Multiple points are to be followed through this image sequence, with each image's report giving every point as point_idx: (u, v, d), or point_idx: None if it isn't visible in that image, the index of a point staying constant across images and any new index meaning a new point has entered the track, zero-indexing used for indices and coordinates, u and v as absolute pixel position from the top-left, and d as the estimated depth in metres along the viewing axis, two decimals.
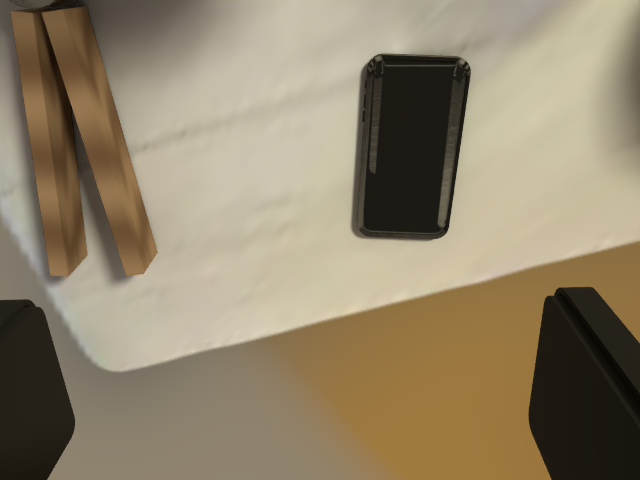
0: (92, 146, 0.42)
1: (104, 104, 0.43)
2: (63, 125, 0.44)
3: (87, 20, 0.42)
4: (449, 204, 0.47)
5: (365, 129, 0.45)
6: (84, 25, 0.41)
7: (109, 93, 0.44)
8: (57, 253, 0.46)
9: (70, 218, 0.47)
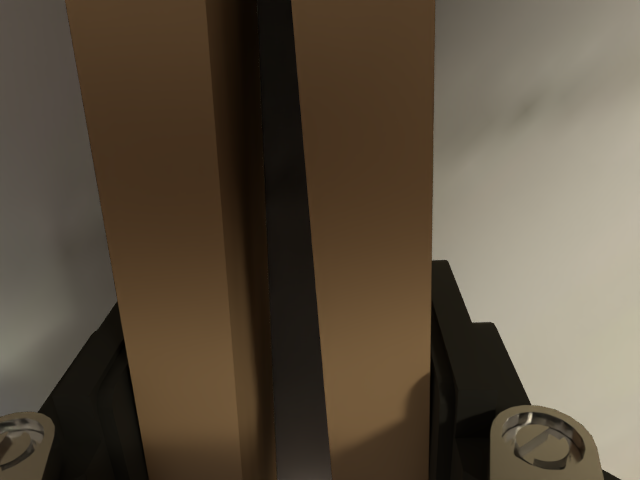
0: (353, 93, 0.06)
1: None
2: None
3: None
4: None
5: None
6: None
7: None
8: None
9: (257, 428, 0.11)
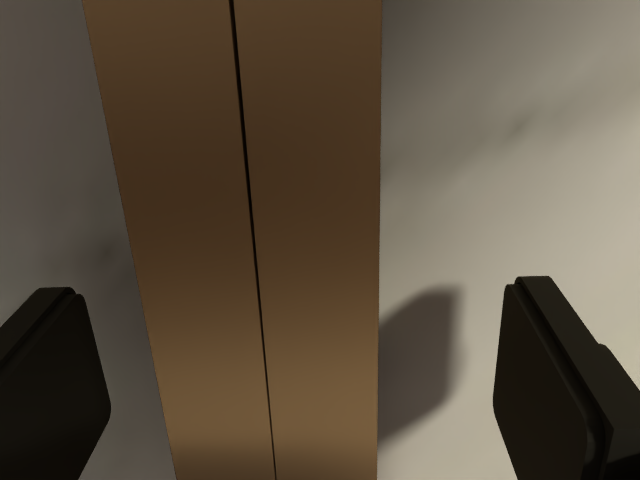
0: (299, 124, 0.06)
1: None
2: None
3: None
4: None
5: None
6: None
7: None
8: None
9: None
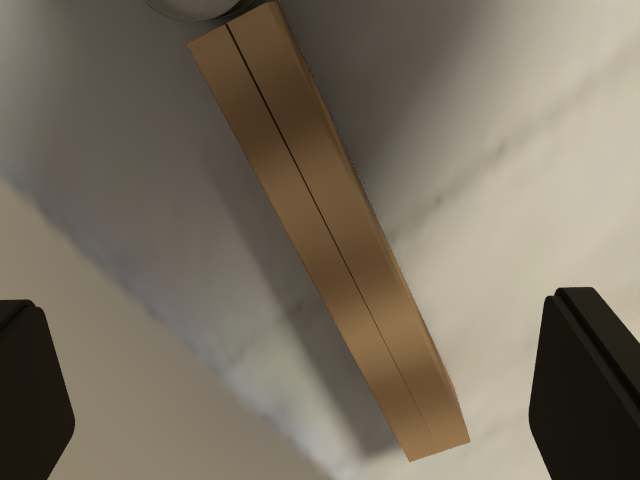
0: (356, 249, 0.22)
1: (349, 167, 0.23)
2: None
3: (287, 25, 0.22)
4: None
5: None
6: (289, 33, 0.22)
7: (343, 146, 0.24)
8: (410, 423, 0.26)
9: None
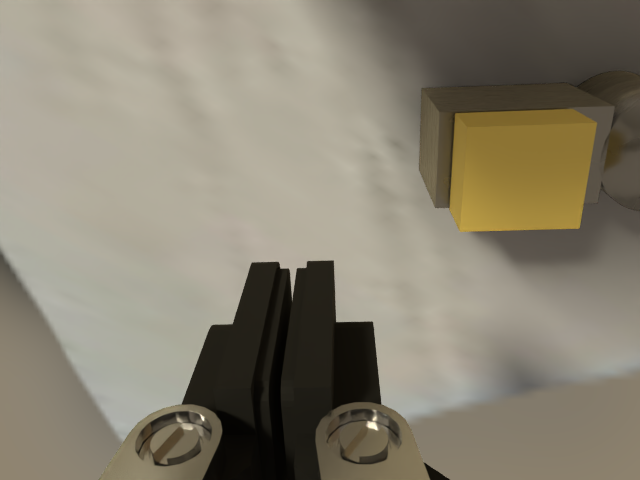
0: None
1: None
2: None
3: None
4: None
5: None
6: None
7: None
8: None
9: None
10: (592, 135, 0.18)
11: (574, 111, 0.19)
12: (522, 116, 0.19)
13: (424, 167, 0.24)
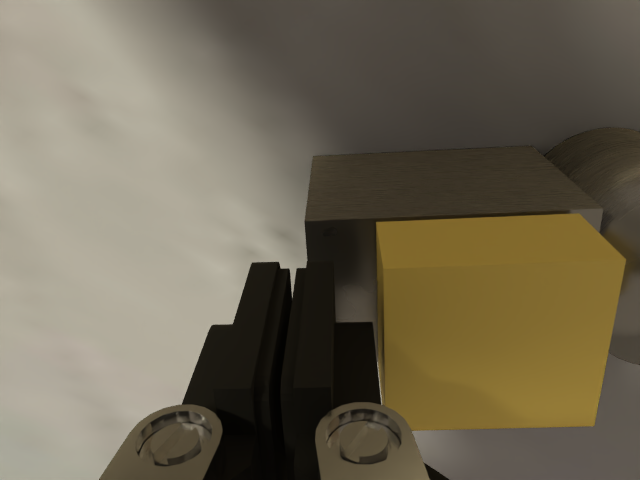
0: None
1: None
2: None
3: None
4: None
5: None
6: None
7: None
8: None
9: None
10: (617, 281, 0.09)
11: (582, 221, 0.11)
12: (489, 234, 0.10)
13: None
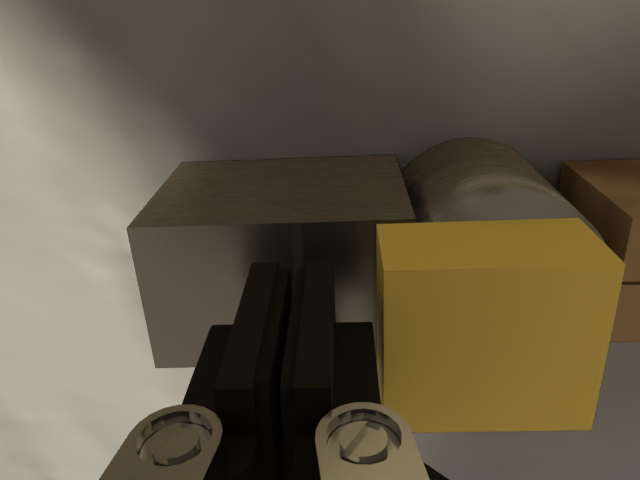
0: None
1: None
2: None
3: (608, 165, 0.15)
4: None
5: None
6: (632, 175, 0.14)
7: None
8: None
9: None
10: (616, 285, 0.10)
11: (581, 225, 0.11)
12: (489, 238, 0.11)
13: None
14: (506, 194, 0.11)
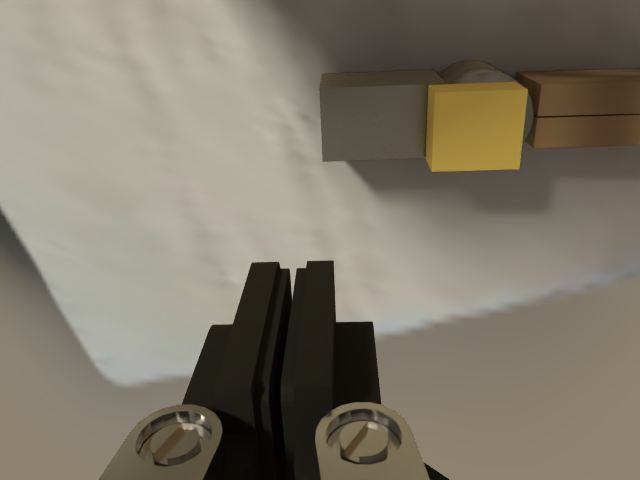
0: None
1: None
2: None
3: (538, 72, 0.30)
4: None
5: None
6: (548, 75, 0.29)
7: None
8: None
9: None
10: (525, 98, 0.25)
11: (515, 83, 0.26)
12: (476, 86, 0.26)
13: None
14: (486, 72, 0.27)
